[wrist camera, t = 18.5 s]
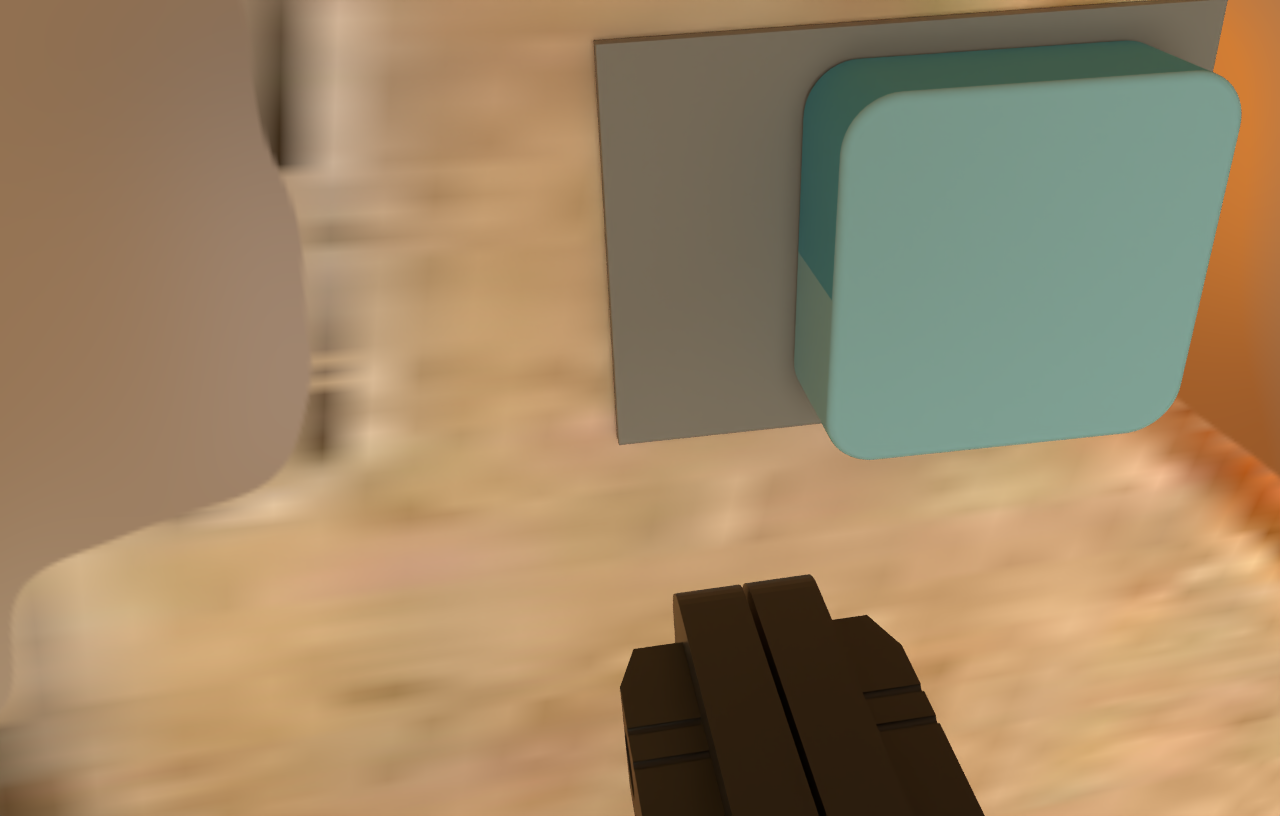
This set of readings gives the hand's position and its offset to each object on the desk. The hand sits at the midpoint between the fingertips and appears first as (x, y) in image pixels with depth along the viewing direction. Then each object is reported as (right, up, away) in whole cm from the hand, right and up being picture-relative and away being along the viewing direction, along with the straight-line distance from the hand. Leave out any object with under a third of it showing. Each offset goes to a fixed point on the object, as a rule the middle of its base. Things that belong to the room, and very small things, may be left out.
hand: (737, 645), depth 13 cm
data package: (+4, +7, +24) cm, 25 cm away
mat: (+8, +9, +27) cm, 29 cm away
